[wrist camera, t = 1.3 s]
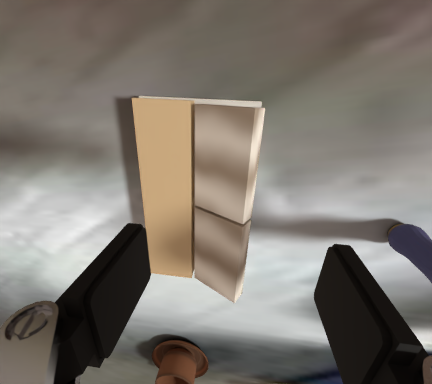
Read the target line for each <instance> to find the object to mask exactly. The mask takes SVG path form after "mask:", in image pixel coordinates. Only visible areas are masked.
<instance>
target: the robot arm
mask: <svg viewBox="0 0 432 384" xmlns="http://www.w3.org/2000/svg"><path fill="white" fill-rule="evenodd" d="M150 276H151V269H150V260H149V251H148V242H147V233H146V229H145V228H143V226H142V225H141V224H133V223H128V224H127V225H126V226H125V227H124V228H123V229H122V230H121V231H120V232H119V233H118V235H117V236H116V237H115V238H114V239H113V240H112V241H111V242H110V243H109V244H108V245H107V246H106V248H105V249H104V250H103V251H102V252H101V253H100V254H99V255H98V256H97V257H96V258H95V259H94V261H93V262H92V263H91V264H90V265H89V266H88V267H87V268H86V269H85V270H84V271H83V272H82V274H81V275H80V276H79V277H78V278H77V279H76V280H75V281H74V282H73V283H72V284H71V285H70V287H69V288H68V289H67V290H66V291H65V292H64V293H63V294H62V295H61V296H60V297H59V299H58V300H57V301H56V302H55V303H54V302H52V301H40V302H35V303H33V304H30V305H27V306H25V307H24V308H22V309H20V310H18V311H17V312H15V313H14V314H13V315H11V316H10V317H9V318H8V319H7V320H6V321H5V322H4V323H3V325H2V326H1V328H0V384H80V375H81V374H83V373H84V371H85V369H86V367H87V366H92V367H98V368H100V366H101V364H102V362H103V360H104V359H105V358H108V357H109V356H110V355H111V353H112V351H113V349H114V347H115V346H116V344H117V342H118V340H119V338H120V336H121V334H122V332H123V330H124V328H125V326H126V324H127V322H128V320H129V319H130V317H131V315H132V313H133V311H134V309H135V307H136V305H137V303H138V301H139V299H140V297H141V295H142V293H143V291H144V290H145V288H146V286H147V284H148V282H149V280H150ZM314 300H315V303H316V306H317V309H318V312H319V315H320V318H321V321H322V324H323V326H324V329H325V332H326V335H327V338H328V341H329V344H330V347H331V349H332V352H333V355H334V358H335V361H336V364H337V367H338V370H339V372H340V375H341V378H342V381H343V384H432V356H429V355H428V354H427V352H426V351H425V349H424V348H423V346H422V344H421V343H420V341H419V340H418V339H417V337H416V336H415V334H414V333H413V332H412V330H411V329H410V328H409V326H408V325H407V323H406V322H405V321H404V319H403V318H402V316H401V315H400V314H399V312H398V311H397V310H396V308H395V307H394V305H393V304H392V303H391V301H390V300H389V298H388V297H387V296H386V294H385V293H384V291H383V290H382V289H381V287H380V286H379V285H378V283H377V282H376V280H375V279H374V278H373V276H372V275H371V273H370V272H369V271H368V269H367V268H366V267H365V265H364V264H363V262H362V261H361V260H360V258H359V257H358V255H357V254H356V253H355V251H354V250H353V248H352V247H351V246H349V245H341V244H334V245H333V246H332V247H329V248H328V250H327V253H326V256H325V260H324V263H323V266H322V269H321V272H320V276H319V279H318V282H317V285H316V289H315V292H314Z"/></svg>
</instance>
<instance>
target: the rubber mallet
mask: <svg viewBox="0 0 432 384" xmlns="http://www.w3.org/2000/svg"><path fill="white" fill-rule="evenodd" d="M388 241H389V244H390V246H391V247H392V248H393V249H394V250H395V251H397V252H398V253H400V254H402V255H404V256H405V257H406V258H408V259H409V260H410V261H411V262H412V263H413V264H414V265H415V266H416V267H417V268H418V269H419V270H420V271H421V272H422V273H423V274H424V275H425V276H426V277H427V278H428V279H429V280H430V282H431V283H432V240H431V239H430V238H429V236H428V235H427V234H426V233H425V231H423V230H422V229H421V228H419V227H417V226H414V225H410V224H398V225H395V226H393V227H392V228H391V229H390V230H389V232H388Z"/></svg>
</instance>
